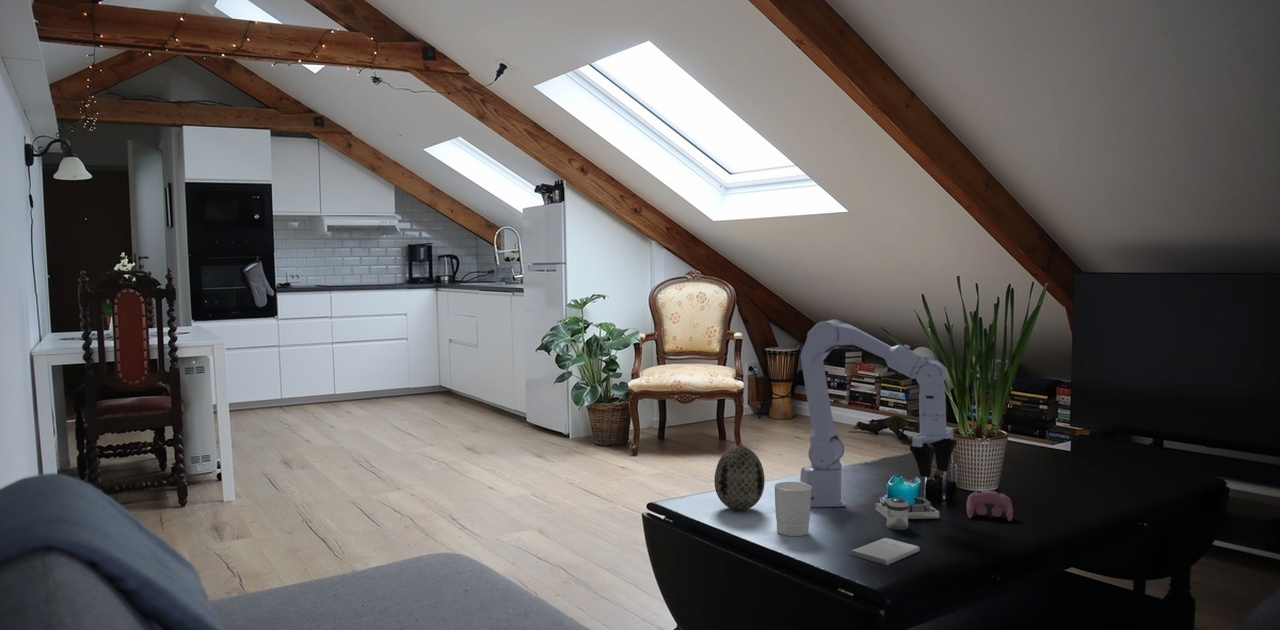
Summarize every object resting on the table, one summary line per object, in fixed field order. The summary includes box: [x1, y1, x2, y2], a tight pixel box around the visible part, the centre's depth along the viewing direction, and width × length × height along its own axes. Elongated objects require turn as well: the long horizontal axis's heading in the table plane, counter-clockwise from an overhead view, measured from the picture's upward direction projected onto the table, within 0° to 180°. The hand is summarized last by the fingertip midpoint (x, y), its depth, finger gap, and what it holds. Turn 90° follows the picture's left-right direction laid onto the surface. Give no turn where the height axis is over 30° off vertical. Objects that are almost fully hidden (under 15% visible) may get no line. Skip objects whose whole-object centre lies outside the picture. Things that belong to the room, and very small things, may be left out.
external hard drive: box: [849, 537, 921, 566], centre depth 178 cm, size 2×8×12 cm
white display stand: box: [874, 496, 940, 520], centre depth 206 cm, size 12×8×3 cm, turn 95°
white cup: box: [774, 481, 812, 537], centre depth 192 cm, size 8×8×10 cm
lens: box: [886, 497, 909, 531], centre depth 196 cm, size 5×5×6 cm
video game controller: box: [966, 490, 1014, 522], centre depth 204 cm, size 10×5×7 cm, turn 71°
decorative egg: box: [714, 445, 766, 512], centre depth 209 cm, size 12×12×15 cm
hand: (934, 473), depth 203 cm, fingers open, 7 cm apart
